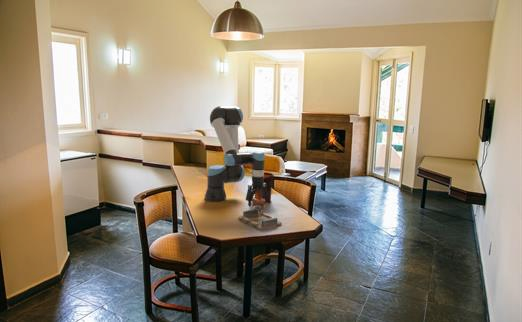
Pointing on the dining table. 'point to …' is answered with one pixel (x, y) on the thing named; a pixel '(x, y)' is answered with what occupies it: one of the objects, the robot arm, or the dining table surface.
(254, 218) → the chassis bay
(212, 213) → the dining table surface
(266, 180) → the vessel
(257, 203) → the bull figurine
